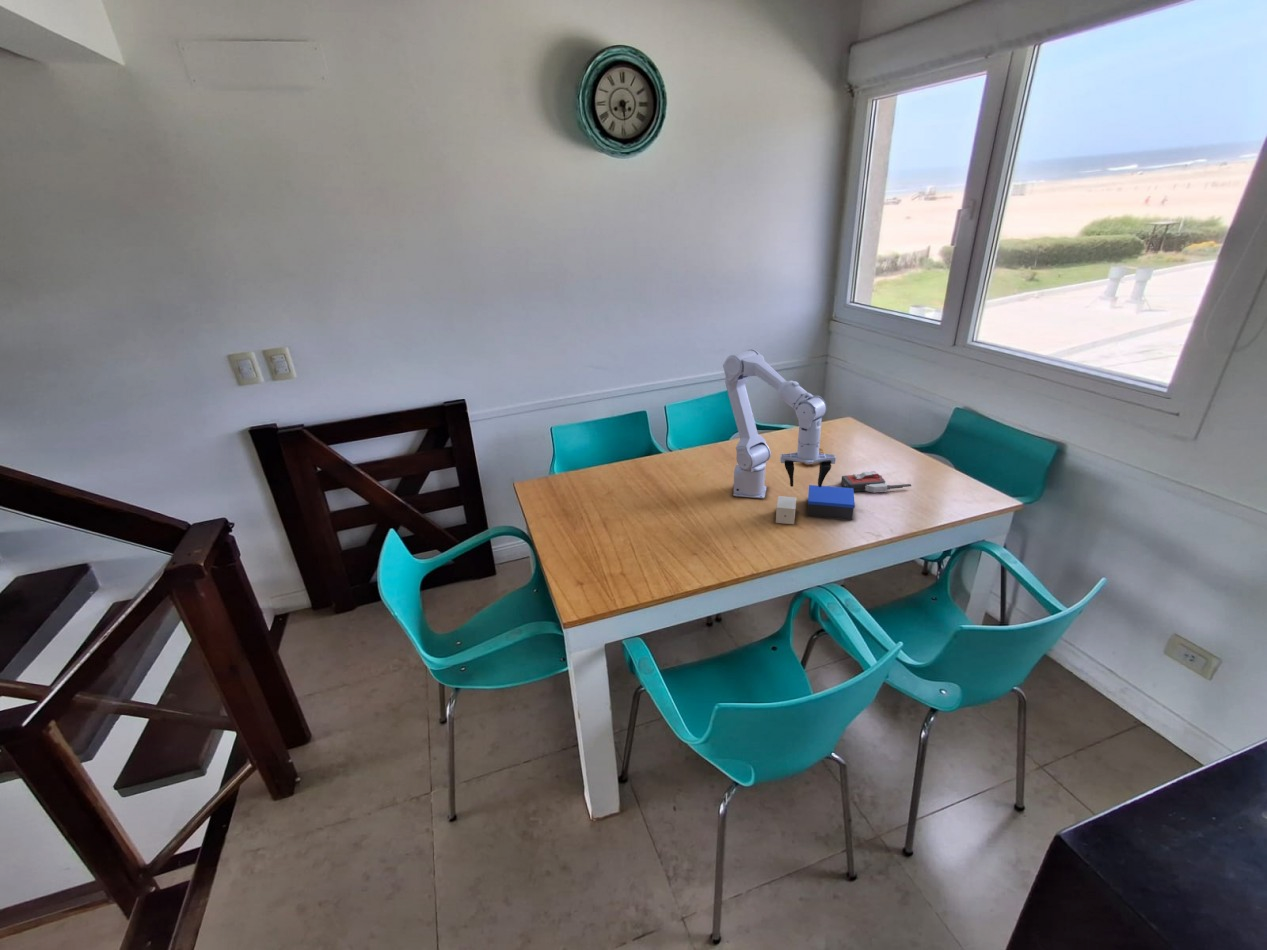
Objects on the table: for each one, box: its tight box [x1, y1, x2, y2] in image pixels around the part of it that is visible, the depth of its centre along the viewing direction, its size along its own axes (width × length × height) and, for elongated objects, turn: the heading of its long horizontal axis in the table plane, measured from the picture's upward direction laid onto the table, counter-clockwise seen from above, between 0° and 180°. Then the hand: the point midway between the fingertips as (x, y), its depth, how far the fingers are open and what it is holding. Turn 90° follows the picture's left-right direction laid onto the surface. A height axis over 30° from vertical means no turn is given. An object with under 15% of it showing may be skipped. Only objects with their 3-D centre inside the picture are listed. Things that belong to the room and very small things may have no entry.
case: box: [775, 495, 797, 525], centre depth 159 cm, size 7×5×5 cm
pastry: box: [802, 447, 826, 467], centre depth 192 cm, size 9×7×4 cm
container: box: [807, 484, 856, 521], centre depth 161 cm, size 12×10×5 cm
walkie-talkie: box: [840, 470, 912, 494], centre depth 172 cm, size 9×4×20 cm
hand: (805, 485), depth 158 cm, fingers open, 7 cm apart
